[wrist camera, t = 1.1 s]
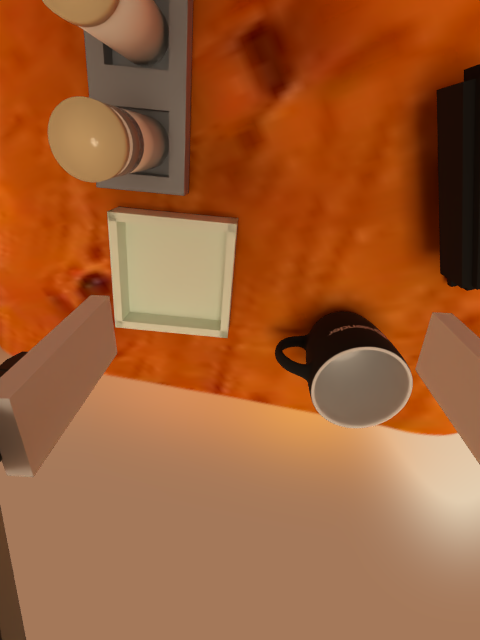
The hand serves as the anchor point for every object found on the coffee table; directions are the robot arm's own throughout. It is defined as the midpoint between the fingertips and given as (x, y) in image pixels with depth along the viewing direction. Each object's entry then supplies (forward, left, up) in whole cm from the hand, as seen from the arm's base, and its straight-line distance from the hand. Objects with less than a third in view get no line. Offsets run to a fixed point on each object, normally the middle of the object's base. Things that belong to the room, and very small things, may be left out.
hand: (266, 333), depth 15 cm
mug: (+12, +9, -24) cm, 28 cm away
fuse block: (-10, -11, -24) cm, 28 cm away
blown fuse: (-6, -11, -23) cm, 26 cm away
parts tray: (+6, -8, -24) cm, 26 cm away
